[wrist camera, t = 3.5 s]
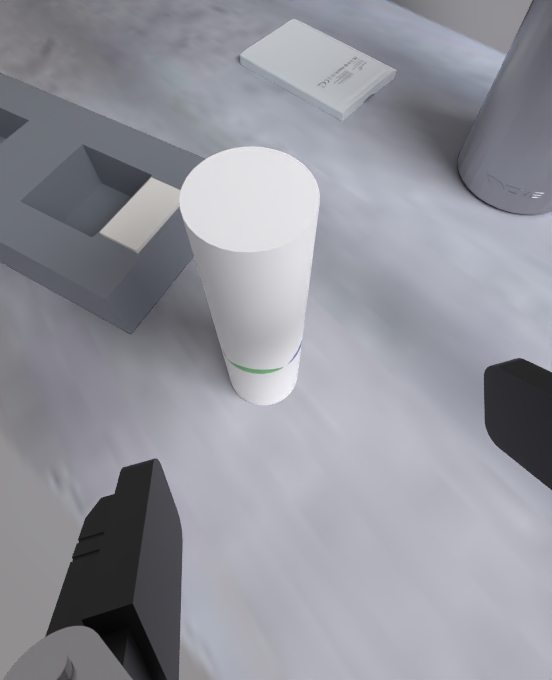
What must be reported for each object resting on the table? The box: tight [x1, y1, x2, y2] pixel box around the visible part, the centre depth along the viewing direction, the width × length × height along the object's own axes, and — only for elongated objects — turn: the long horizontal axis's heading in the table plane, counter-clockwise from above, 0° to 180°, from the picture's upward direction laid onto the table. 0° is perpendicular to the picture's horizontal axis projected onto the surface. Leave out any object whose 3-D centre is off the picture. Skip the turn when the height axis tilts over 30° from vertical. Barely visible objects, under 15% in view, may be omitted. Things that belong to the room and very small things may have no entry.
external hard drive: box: [240, 19, 396, 121], centre depth 39 cm, size 2×8×12 cm
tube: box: [179, 147, 320, 405], centre depth 19 cm, size 4×4×15 cm
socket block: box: [0, 73, 205, 334], centre depth 30 cm, size 24×12×5 cm, turn 60°
